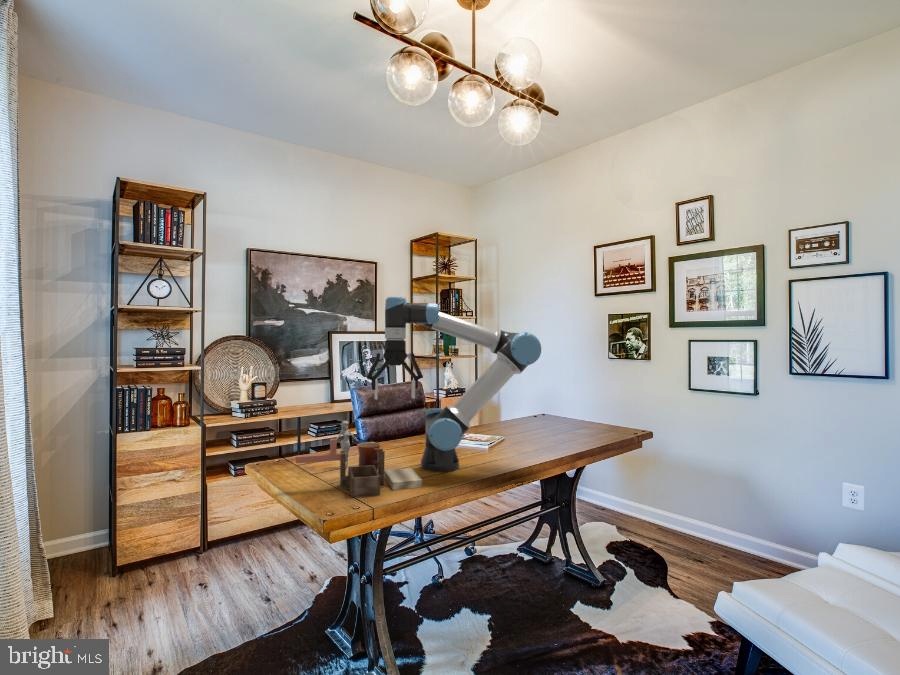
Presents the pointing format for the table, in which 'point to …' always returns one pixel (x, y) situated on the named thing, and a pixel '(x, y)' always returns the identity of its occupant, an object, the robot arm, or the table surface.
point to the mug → (368, 453)
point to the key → (322, 455)
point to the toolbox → (362, 477)
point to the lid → (403, 479)
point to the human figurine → (345, 439)
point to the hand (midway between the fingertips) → (394, 398)
